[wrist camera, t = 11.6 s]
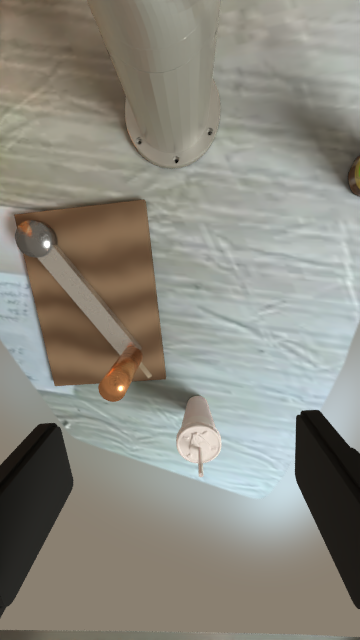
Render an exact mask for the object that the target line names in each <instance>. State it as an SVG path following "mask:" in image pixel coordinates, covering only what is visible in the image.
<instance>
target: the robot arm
mask: <svg viewBox="0 0 360 640" xmlns="http://www.w3.org/2000/svg"><path fill="white" fill-rule="evenodd" d="M87 2H88V4H89V7H90V9H91V11H92V14H93V16H94V19H95V21H96V24H97V26H98V28H99V31H100V33H101V36H102V38H103V41H104V43H105V46H106V48H107V51H108V53H109V56H110V58H111V60H112V63H113V65H114V68H115V70H116V73H117V75H118V78H119V80H120V83H121V85H122V87H123V90H124V92H125V95H126V101H125V121H126V126H127V130H128V133H129V135H130V138H131V140H132V142H133V144H134V146H135V147H136V149H137V150H138V151H139V153H140V154H141V155H142V156H143V157H144V158H145V159H146V160H148V161H149V162H151V163H153V164H154V165H157V166H160V167H162V168H169V169H174V168H181V167H185V166H188V165H190V164H192V163H194V162H196V161H197V160H198V159H199V158H200V157H202V156H203V155H204V154H205V152H206V151H207V150H208V149H209V147H210V146H211V144H212V142H213V141H214V138H215V136H216V133H217V130H218V126H219V121H220V112H221V109H220V97H219V93H218V89H217V86H216V84H215V81H214V79H213V78H212V77H213V68H214V59H215V49H216V40H217V31H218V22H219V13H220V3H221V0H87ZM208 133H211V135H208ZM139 142H142V143H141V144H140V145H139ZM176 160H178V163H175V161H176ZM295 476H296V481H297V484H298V486H299V488H300V490H301V492H302V495H303V497H304V499H305V501H306V503H307V505H308V507H309V509H310V512H311V514H312V516H313V518H314V520H315V522H316V524H317V527H318V529H319V530H320V533H321V535H322V537H323V539H324V541H325V544H326V546H327V548H328V550H329V552H330V554H331V556H332V559H333V561H334V563H335V565H336V567H337V569H338V571H339V573H340V576H341V578H342V580H343V582H344V584H345V586H346V588H347V590H348V593H349V595H350V597H351V599H352V601H353V603H354V604H355V606H356V607H357V608H358V609H360V453H359V452H358V451H356V450H355V449H353V448H350V446H349V445H348V444H347V443H346V442H345V441H344V439H343V438H342V437H341V436H340V435H339V433H338V432H337V431H336V430H335V429H334V428H333V426H332V425H331V424H330V423H329V422H328V420H327V419H326V418H325V417H324V416H323V414H322V413H321V412H320V411H319V410H306V411H301V415H297V417H296V449H295ZM72 487H73V477H72V473H71V469H70V464H69V460H68V456H67V452H66V448H65V444H64V440H63V436H62V432H61V429H60V427H57V425H56V424H55V423H45V424H39V425H38V426H37V427H36V428H35V429H34V430H33V431H32V432H31V433H30V434H29V435H28V436H27V437H26V439H24V440H23V442H22V443H21V444H20V445H19V446H18V447H17V448H16V449H15V450H14V451H13V452H12V453H11V454H10V455H9V457H8V458H7V459H6V460H5V461H4V462H3V463H2V464H1V465H0V617H1V615H2V614H3V612H4V610H5V608H6V606H9V605H10V604H11V603H12V602H13V600H14V599H15V597H16V595H17V593H18V591H19V589H20V587H21V586H22V584H23V582H24V580H25V578H26V576H27V574H28V572H29V570H30V569H31V566H32V565H33V563H34V561H35V559H36V557H37V555H38V553H39V551H40V549H41V548H42V546H43V544H44V542H45V540H46V538H47V536H48V534H49V532H50V530H51V529H52V527H53V525H54V523H55V521H56V519H57V517H58V515H59V513H60V511H61V509H62V508H63V506H64V504H65V502H66V500H67V498H68V496H69V494H70V492H71V490H72ZM0 640H360V637H338V636H318V635H292V634H291V635H290V634H247V633H246V634H245V633H200V632H199V633H198V632H196V633H195V632H137V631H135V632H134V631H47V630H45V631H44V630H42V631H40V630H0Z"/></svg>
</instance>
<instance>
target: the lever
mask: <svg viewBox="0 0 360 640" xmlns="http://www.w3.org/2000/svg"><path fill="white" fill-rule="evenodd" d="M15 239H16V243H17V245H18V247H19V249H20V250H21V251H22V252H23V253H24V254H25V255H27V256H29V257H34V258H38V259H39V260H40V262H41V263H42V264H43V265H44V266H45V268H46V269H47V270H48V271H49V272H50V273H51V275H52V276H53V277H54V278H55V279H56V280H57V282H58V283H59V284H60V285H61V286H62V288H63V289H64V290H65V291H66V292H67V293H68V295H69V296H70V297H71V298H72V299H73V300H74V302H75V303H76V304H77V305H78V306H79V308H80V309H81V310H82V311H83V312H84V313H85V315H86V316H87V317H88V318H89V319H90V321H91V322H92V323H93V324H94V325H95V326H96V328H97V329H98V330H99V331H100V332H101V333H102V335H103V336H104V337H105V338H106V339H107V341H108V342H109V343H110V344H111V345H112V346H113V348H114V349H115V350H116V351H117V352H118V353H119V355H120V357H119V358H118V359H117V361H116V362H115V363H114V365H113V366H112V367H111V369H110V370H109V371H108V373H107V374H106V375H105V377H104V378H103V379H102V381H101V382H100V384H99V393H100V395H101V396H102V397H103V398H104V399H106V400H108V401H112V402H115V401H119V400H121V399H122V398H123V397H124V395H125V393H126V391H127V389H128V387H129V385H130V383H131V381H132V379H133V377H134V375H135V373H136V371H137V369H138V367H139V365H140V363H141V361H142V359H143V355H142V352H141V351H140V350H141V348H142V347H141V346H140V345H139V343H138V342H137V341H136V340H135V338H134V337H133V336H132V335H131V334H130V332H129V331H128V330H127V329H126V328H125V326H124V325H123V324H122V323H121V321H120V320H119V319H118V318H117V317H116V315H115V314H114V313H113V312H112V311H111V309H110V308H109V307H108V306H107V304H106V303H105V302H104V301H103V300H102V298H101V297H100V296H99V295H98V294H97V292H96V291H95V290H94V289H93V287H92V286H91V285H90V284H89V283H88V281H87V280H86V279H85V278H84V277H83V275H82V274H81V273H80V272H79V270H78V269H77V268H76V267H75V266H74V264H73V263H72V262H71V261H70V260H69V258H68V257H67V256H66V255H65V254H64V252H63V251H62V250H61V249H60V247H59V246H58V239H57V236H56V233H55V232H54V230H53V229H52V228H51V227H50V226H49V225H47V224H45V223H41V222H37V221H33V220H27V221H24V222H22V223H21V224H20V225H19V226H18V228H17V230H16V234H15Z"/></svg>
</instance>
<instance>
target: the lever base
mask: <svg viewBox="0 0 360 640" xmlns="http://www.w3.org/2000/svg"><path fill="white" fill-rule="evenodd" d="M14 216H15V220H16V225H17V228H18V226H19V225H20V224H21V223H22V222H24V221H27V220H33V221H37V222H41V223H45V224H47V225H49V226H50V227H51V228H52V229H53V230H54V232H55V233H56V236H57V239H58V246H59V247H60V249H61V250H62V251H63V252H64V254H65V255H66V256H67V257H68V258H69V260H70V261H71V262H72V263H73V264H74V266H75V267H76V268H77V269H78V270H79V272H80V273H81V274H82V275H83V277H84V278H85V279H86V280H87V281H88V283H89V284H90V285H91V286H92V287H93V289H94V290H95V291H96V292H97V294H98V295H99V296H100V297H101V298H102V300H103V301H104V302H105V303H106V304H107V306H108V307H109V308H110V309H111V311H112V312H113V313H114V314H115V315H116V317H117V318H118V319H119V320H120V321H121V323H122V324H123V325H124V326H125V328H126V329H127V330H128V331H129V332H130V334H131V335H132V336H133V337H134V338H135V340H136V341H137V342H138V343H139V345H140V346H141V347H142V348H141V350H140V351H141V352H142V355H143V359H142V361H141V363H140V365H139V367H138V369H137V371H136V373H135V375H134V377H133V379H132V381H145V380H161V379H166V371H165V362H164V353H163V345H162V336H161V328H160V319H159V311H158V302H157V293H156V285H155V276H154V268H153V259H152V251H151V242H150V233H149V225H148V216H147V208H146V201H145V200H136V201H128V202H119V203H110V204H102V205H93V206H84V207H76V208H67V209H58V210H50V211H41V212H32V213H24V214H15V215H14ZM23 254H24V253H23ZM24 258H25V262H26V267H27V271H28V275H29V279H30V283H31V288H32V292H33V296H34V300H35V304H36V309H37V313H38V317H39V321H40V325H41V330H42V334H43V338H44V342H45V346H46V351H47V355H48V359H49V363H50V367H51V372H52V376H53V380H54V384H55V386H64V385H80V384H96V383H100V382H101V381H102V379H103V378H104V377H105V375H106V374H107V373H108V371H109V370H110V369H111V367H112V366H113V365H114V363H115V362H116V361H117V359H118V358H119V357H120V355H119V353H118V352H117V351H116V350H115V349H114V348H113V346H112V345H111V344H110V343H109V342H108V341H107V339H106V338H105V337H104V336H103V335H102V333H101V332H100V331H99V330H98V329H97V328H96V326H95V325H94V324H93V323H92V322H91V321H90V319H89V318H88V317H87V316H86V315H85V313H84V312H83V311H82V310H81V309H80V308H79V306H78V305H77V304H76V303H75V302H74V300H73V299H72V298H71V297H70V296H69V295H68V293H67V292H66V291H65V290H64V289H63V288H62V286H61V285H60V284H59V283H58V282H57V280H56V279H55V278H54V277H53V276H52V275H51V273H50V272H49V271H48V270H47V269H46V268H45V266H44V265H43V264H42V263H41V262H40V260H39V259H38V258H34V257H29V256H27V255H25V254H24Z"/></svg>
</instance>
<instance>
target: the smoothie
mask: <svg viewBox="0 0 360 640" xmlns="http://www.w3.org/2000/svg"><path fill="white" fill-rule="evenodd" d="M176 441H177V449H178V452H179V453H180V455H181V456H182V457H183V458H184V459H186V460H188V461H190V462H193V463H198V465H199V476H200V477H203V463H206V462H209V461H211V460H213V459H214V458H215V457H217V455H218V454H219V452H220V450H221V436H220V434H219V432H218V430H217V429H216V427H215V424H214V421H213V418H212V415H211V412H210V409H209V406H208V403H207V400H206V399H205V398H204V397H202V396H193V397H191V398H190V399H189V400H188V402H187V406H186V410H185V414H184V418H183V422H182V426H181V429H180V430H179V432H178V434H177V439H176Z"/></svg>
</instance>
